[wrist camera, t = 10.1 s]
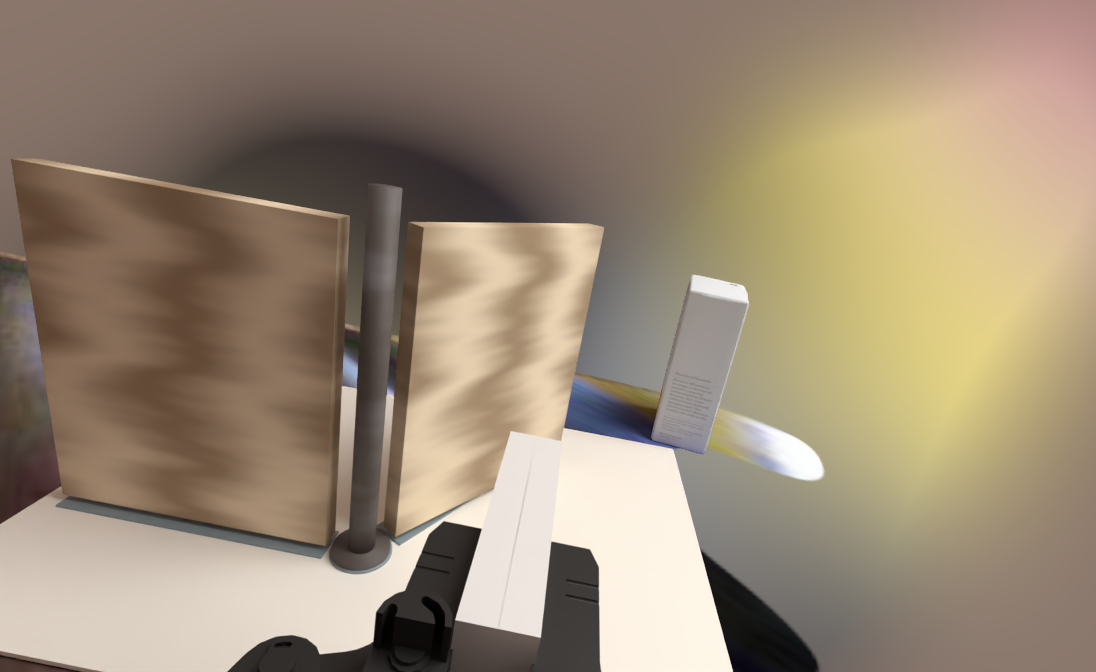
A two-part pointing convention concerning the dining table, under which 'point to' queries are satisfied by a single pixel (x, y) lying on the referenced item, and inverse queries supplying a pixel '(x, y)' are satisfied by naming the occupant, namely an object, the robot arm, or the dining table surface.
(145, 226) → the panel
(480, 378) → the fence gate
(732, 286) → the skincare box
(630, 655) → the card
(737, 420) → the dining table surface
